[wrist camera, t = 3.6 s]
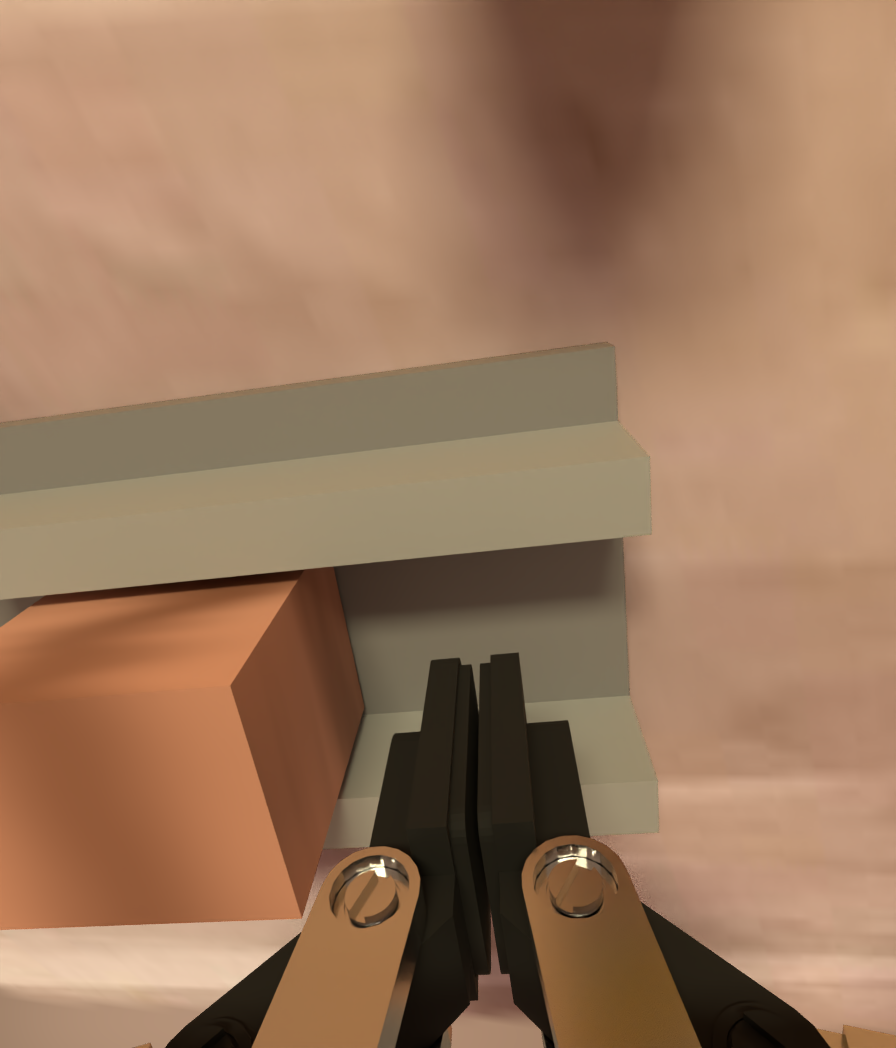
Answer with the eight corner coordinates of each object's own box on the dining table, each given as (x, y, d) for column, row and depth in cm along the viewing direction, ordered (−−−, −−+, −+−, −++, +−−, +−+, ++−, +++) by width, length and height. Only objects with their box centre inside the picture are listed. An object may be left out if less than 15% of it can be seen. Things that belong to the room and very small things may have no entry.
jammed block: (326, 535, 15) (230, 685, 10) (364, 707, 17) (302, 918, 11) (95, 560, 16) (-123, 714, 10) (154, 722, 18) (-3, 929, 12)
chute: (606, 342, 14) (647, 364, 11) (626, 762, 18) (660, 884, 15) (-304, 463, 17) (-528, 515, 13) (-105, 807, 21) (-233, 921, 17)
